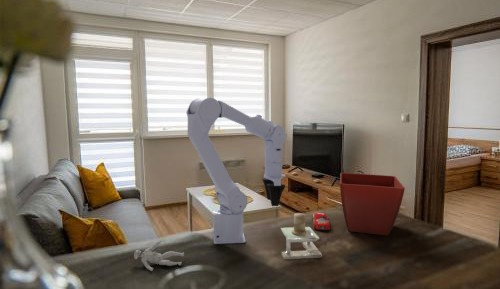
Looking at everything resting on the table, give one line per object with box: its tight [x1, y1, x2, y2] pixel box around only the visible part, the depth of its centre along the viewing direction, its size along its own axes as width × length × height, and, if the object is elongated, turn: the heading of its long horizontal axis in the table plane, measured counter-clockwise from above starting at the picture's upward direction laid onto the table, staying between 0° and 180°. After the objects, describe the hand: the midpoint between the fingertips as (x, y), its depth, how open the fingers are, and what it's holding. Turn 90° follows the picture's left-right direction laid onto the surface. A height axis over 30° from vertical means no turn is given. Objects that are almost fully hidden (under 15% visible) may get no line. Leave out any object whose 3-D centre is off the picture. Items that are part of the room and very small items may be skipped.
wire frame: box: [281, 230, 323, 260], centre depth 89 cm, size 10×9×5 cm
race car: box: [311, 211, 331, 231], centre depth 111 cm, size 13×5×4 cm, turn 171°
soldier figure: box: [133, 240, 185, 272], centre depth 81 cm, size 8×5×12 cm
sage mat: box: [280, 226, 320, 241], centre depth 102 cm, size 10×10×1 cm
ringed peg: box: [292, 212, 307, 236], centre depth 102 cm, size 5×5×6 cm
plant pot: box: [339, 172, 406, 236], centre depth 108 cm, size 19×19×17 cm
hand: (272, 202), depth 105 cm, fingers open, 7 cm apart
